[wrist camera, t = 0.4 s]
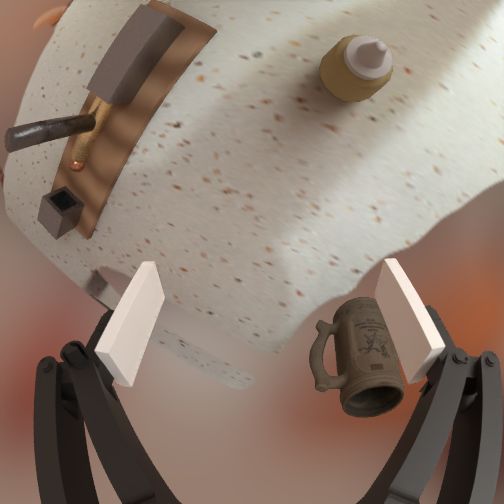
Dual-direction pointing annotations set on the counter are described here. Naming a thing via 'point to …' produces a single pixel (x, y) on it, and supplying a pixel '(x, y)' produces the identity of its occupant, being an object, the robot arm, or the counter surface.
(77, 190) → the base board
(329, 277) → the counter surface
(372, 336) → the beer stein
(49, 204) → the socket
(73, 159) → the sliding bolt
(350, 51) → the squeeze bottle
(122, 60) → the outer sleeve
